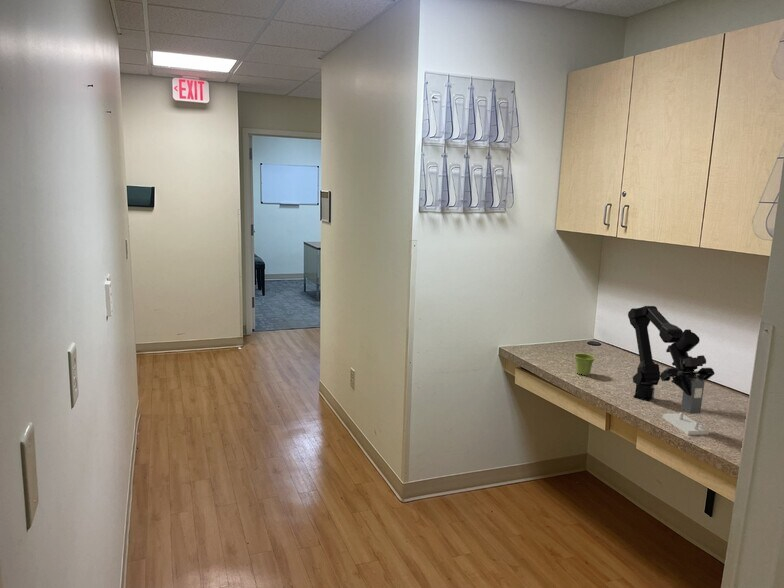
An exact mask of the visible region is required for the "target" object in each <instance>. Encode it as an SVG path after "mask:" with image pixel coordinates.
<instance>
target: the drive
mask: <svg viewBox="0 0 784 588" xmlns="http://www.w3.org/2000/svg"><path fill="white" fill-rule="evenodd" d="M705 381H706V380H701V379H699V378H698V377H696V376H686V382H687V385H688V387H689V390H690V393H691V395H690V396H688V395H687V394H686V393H685V392H684V391H683V390H682V391H683V392H682V397H681V407H680V409H682V410H684V411H685V412H687V413H689V414H690V415H692V414H695V415H696V414H701V412H702V404H703V395H704V388H705Z"/></svg>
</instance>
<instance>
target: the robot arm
mask: <svg viewBox="0 0 784 588" xmlns="http://www.w3.org/2000/svg"><path fill="white" fill-rule="evenodd" d="M627 317H628V319H629V323H630V325H631V326H632V328H633V329H634V331H635V337H636V343H637V349H638V350H637V351H638V356H639V364H638V365H637V369H636V370H637V371H636V373H635V374H634V375H633V376H632V383H634V384H635V393H634V395H633V398H636V399H639V400H644V401H647V402H648V401H649V402H650V401H651V400H652V399H654V397H655V388H654V386H658V384H659V382H660V379H661V382H671V383H673V384H675V385H676V386H677V387H678V388H680V389H681V390H682V391H684V392H685V393H686V394H687V395H688V396H690V395H691V393H690V390H689V387H688V385H687V382H686V376H696V377H698V378H699V379H701V380H703V381H708V380H709V379H710V378H711V377H713V376H714V375H715V374H716V373H715V370H714V369H713V368H712V367H703V366H704V365H706V364H707V359H706V357H705V355H702V354H701V355H697V356H696V357H693V356H690V355H689V354H688V352H690V351H691V350H692V349H694V348H695V347H697V345H698V344H700V337H699V336H698V335H697V334H696V333H695V332H693V331H692V330H691V329H688V328H687V329H686V328H685V329H684V331H683V330H682V329H681V328H680V327H679V326H678V325H675V324H672V323H670V322H669V321H668V320H667V318H665V317H664V315H663V314H662V313H661V312H660V310H658V307H657V306H655V305H644V306H642V307H637V308H636V307H635V308H633V307H632V308H630V310H629V311H628V312H627ZM650 323H651V324H653V325H654V327H656V329H657V330H658V332H659V338H660V339H661V340H662V342H663V343H664V344H670V345H668V346H667V347H666V351H665V352H666V353H670V355H671V359H672V361H673V362H671V364H672V366H673V368H672V367H669V368H668V367H667V368H665V369H664V370H663V371H662V372H661V371H660V365H659V364H658V363H656V362H655V361H653V355H652V348H651V342H650V336H649V335H650V334H649V330H648V328H649V325H650ZM674 366H675V367H674ZM698 367H701V368H699V369H698ZM697 369H698V370H697ZM671 378H672V380H671ZM670 380H671V381H670Z"/></svg>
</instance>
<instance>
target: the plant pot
mask: <svg viewBox="0 0 784 588" xmlns="http://www.w3.org/2000/svg"><path fill="white" fill-rule="evenodd" d="M573 356H574V359H575V373H576V372H577V373H578V374H577V373H576V374H577V375H579V374H580V375H581V374H582V376H584V375H585V376H589V375H590V373H591V370H592V366H593V363H594V360H596V358H595V357H596V356H594V355H591V354H588V353H575V354H574V355H573ZM588 374H589V375H588Z"/></svg>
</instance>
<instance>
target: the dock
mask: <svg viewBox="0 0 784 588" xmlns="http://www.w3.org/2000/svg"><path fill="white" fill-rule="evenodd" d="M662 418H663V419H664V420H666V421H667V422H669V423H670V425H671V424H672V425H673V426H674V427H675V428H677V429H679V430H680V431H682V432H683V433H685V434H686V435H688V436H692V435H693V436H696V435H709V434H710V433H709V431H710V430H708V428H706V427H704V426H702V425H701V424H700V422H698V421H695V420H694V419H692V418H690V417H689V416H687V415H685V414H684V412H683V411H682V412H679V413H663V414H662Z"/></svg>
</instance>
